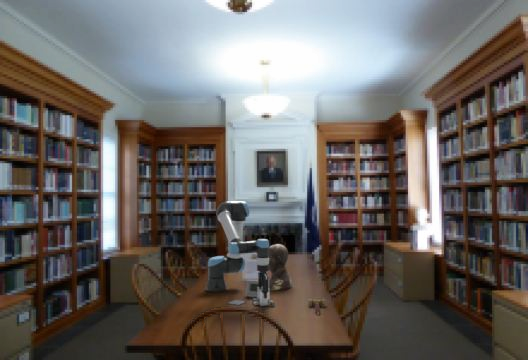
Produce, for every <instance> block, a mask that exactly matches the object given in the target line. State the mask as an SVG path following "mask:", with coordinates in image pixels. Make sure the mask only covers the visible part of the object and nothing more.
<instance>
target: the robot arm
mask: <svg viewBox="0 0 528 360" xmlns="http://www.w3.org/2000/svg"><path fill="white" fill-rule="evenodd" d="M249 215H250V208H249V204H248V203H247V201H244V200H243V201H242V200H238V201H237V200H232V201H231V200H230V201H224V202H221V203H220V204H219V205H218V207H217V208H216V217H217V220H218V221H219V223H220V225H221V226H222V229H223V231H224V233H225V236H226V238H227V240H228V245H227V249H228V253H227V254H226V257H225V256H224V255H217V256H213V257H211V258H209V259H208V263H207V266H208V267H207V271H208V272H207V273H208V278H207V281H206V286H205V290H206V291H207V292H212V293H217V292H219V293H220V292H225V291H227V290H228V286H227V283H226V279H225V275H228V274H229V275H230V274H238V273H243V271H244V269H245V267H246V259H245V257H243V256H244V254H256V264H257V265H256V270H257V271H258V272H257V279H258V287H261V286H263V292H262V293H263V304H264V303H267V293H268V292H269V293H270V290H269V289H268V281H269V275H268V273H267V272H270V270H269V260H270V259H269V247H270V241H269V240H268V239H266V238H258V239H257V240H256V239H255V240H254V239H253V240H249V241H248V240H247V241H243V229H244V223H245V222H246V219H247V218H248V217H249Z"/></svg>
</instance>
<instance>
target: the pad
mask: <svg viewBox="0 0 528 360" xmlns="http://www.w3.org/2000/svg"><path fill="white" fill-rule="evenodd" d="M227 304H228V305H233V306H237V307H238V306H241V305H244V304H246V301H243V300H238V299H237V300H236V299H234V300H232V301H229V302H227Z"/></svg>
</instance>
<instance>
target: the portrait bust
mask: <svg viewBox="0 0 528 360" xmlns="http://www.w3.org/2000/svg"><path fill="white" fill-rule="evenodd" d="M269 259H270V260H269V272H271V275H270V276H269V278H268V281H269V282H270V284H269V291H282V290H283V289H284V290H287V289H288V290H289V289H290V288H291V287H292V279H291V278H292V277H291V274H290V273H289V270H288V267H286V264H287V262H288V259H289V251H288V248H287V247H286V246H285V245H283V244H281V243H276V244H272V245H269Z"/></svg>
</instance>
